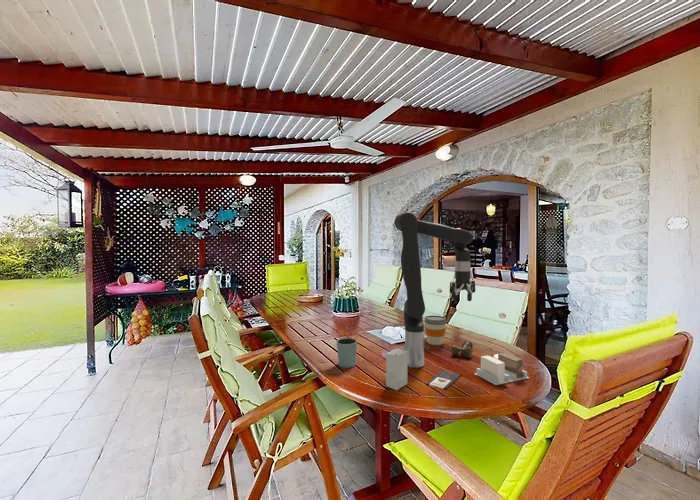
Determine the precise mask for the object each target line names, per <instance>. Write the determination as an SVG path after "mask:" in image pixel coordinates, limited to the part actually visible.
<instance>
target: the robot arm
mask: <svg viewBox="0 0 700 500" xmlns="http://www.w3.org/2000/svg"><path fill="white" fill-rule="evenodd" d="M394 226H395V228H396V229H397V230H398V231H400V232H401V235H402V236H401V237H402V249H401V254H400V266H401V267H400V268H401V273H402V278H403V283H404V286H405V289H406V300H405V301H404V304H403V320H404V321H403V322H404V344H403V346H402V347H403V348H402V350H405V351H408V353H407V368H422V367H423V366H425V325H424V320H423V316H424V314H425V313H426V306H425V300H424V294H423V288H422V271H421V269H422V267H421V259H420V257H421V256H420V250H419V249H420V248H419V241H418V234H421V235H425V236H429V237H433V238H436V239H440V240H443V241H449V242H453V247H454V252H455V262H454V263H455V264H454V279H455V281H450V282H449V294H450V295H452V301H453V302H454V303H458V302H459V301H458V298H459V293H460V292H461V291H466V292H467V293H466V295H467V298H466V301H468V302H471V301H472V299H473V293H476V281H475V280H471V273H472V272H471V251H470V250H469V249H468V248H467V245H469V244H471V243H473V239H474V236H473V233H472V232H470V231H468V230H466V229H460V228H455V227H451V226H449V225H444V224H441V223H435V222H434V223H433V222H428V221H423V220H419V219H418V218H417V216H416V215H415V214H414V213H413V212H411V211H409V212H408V211H407V212H404V213H403V212H402V213H400V214H398V215H397V216H395V219H394Z"/></svg>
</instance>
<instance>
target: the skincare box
mask: <svg viewBox="0 0 700 500" xmlns="http://www.w3.org/2000/svg"><path fill="white" fill-rule="evenodd" d="M407 353H408V351H405V350H403V349H400V348H396V347H395V348H394V349H393V350H390V351H388V352H385V385H386V387H388V388H391V389H393V390H395V391H398V390H400V389H401V388H402V387H404V386H407V385H408V366H407Z"/></svg>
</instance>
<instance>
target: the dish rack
mask: <svg viewBox="0 0 700 500" xmlns="http://www.w3.org/2000/svg"><path fill="white" fill-rule="evenodd" d="M475 370H476V372H475V373H474V375H476V376H477V377H479V378H482V379H484V380H485V381H487V382H489V383H492V384H493V385H495V386H497V385H502V384H507V383H511V382H516V381H522V380H526V379H529V378H530V377H529V376H528V372H527V371H526V370H523V369H522V378H517V379H516V375H517V374H515V373H513V372H511V371H508V370H506V369H505V381H502V382H499V378H498V377H496V376H494V375H492V374H490V373H488V372H486V371H484V370H482V369H481V367H480V368H479V367H477V368H476V369H475Z"/></svg>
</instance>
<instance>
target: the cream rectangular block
mask: <svg viewBox="0 0 700 500" xmlns="http://www.w3.org/2000/svg"><path fill="white" fill-rule="evenodd" d="M480 369H482V370H484V371H486V372H488V373H490V374H492V375H494V376H496V377H498V378H499V382H502V381H505V363H504V362H502V361H500V360H497V359H495V358H494V356H491V355H481V356H480Z"/></svg>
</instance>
